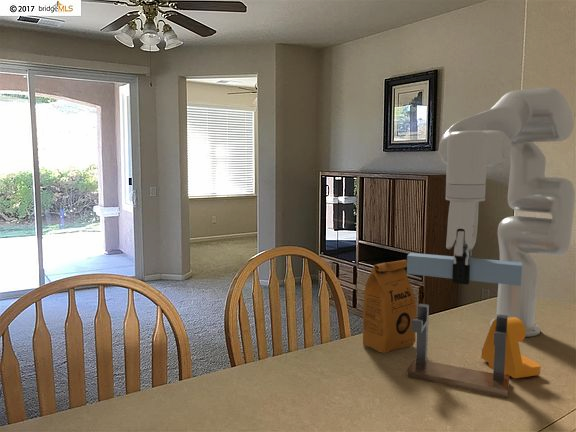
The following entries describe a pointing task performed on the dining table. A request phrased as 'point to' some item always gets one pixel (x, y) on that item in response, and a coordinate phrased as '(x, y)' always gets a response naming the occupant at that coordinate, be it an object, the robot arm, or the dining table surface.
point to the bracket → (511, 350)
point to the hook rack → (458, 375)
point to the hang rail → (478, 268)
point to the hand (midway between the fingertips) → (461, 280)
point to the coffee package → (388, 308)
